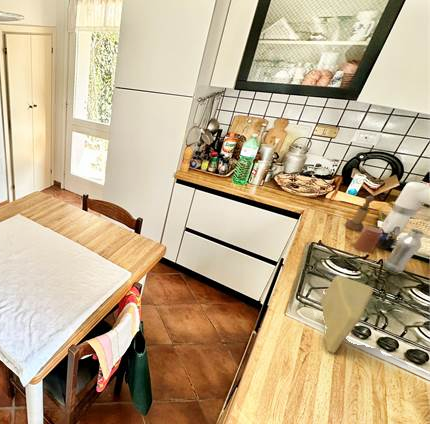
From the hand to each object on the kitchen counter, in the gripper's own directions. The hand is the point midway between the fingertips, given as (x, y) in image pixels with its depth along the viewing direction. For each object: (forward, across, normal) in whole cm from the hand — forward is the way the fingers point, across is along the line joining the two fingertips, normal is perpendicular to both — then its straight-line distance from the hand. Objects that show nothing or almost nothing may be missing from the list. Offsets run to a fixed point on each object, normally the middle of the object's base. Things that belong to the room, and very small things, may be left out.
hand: (383, 241), depth 143 cm
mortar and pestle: (+2, -14, -9) cm, 17 cm away
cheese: (+2, +78, -20) cm, 80 cm away
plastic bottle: (+3, +24, 0) cm, 24 cm away
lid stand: (+2, 0, 0) cm, 2 cm away
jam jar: (+2, +8, -7) cm, 11 cm away
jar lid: (-2, 0, 0) cm, 2 cm away
